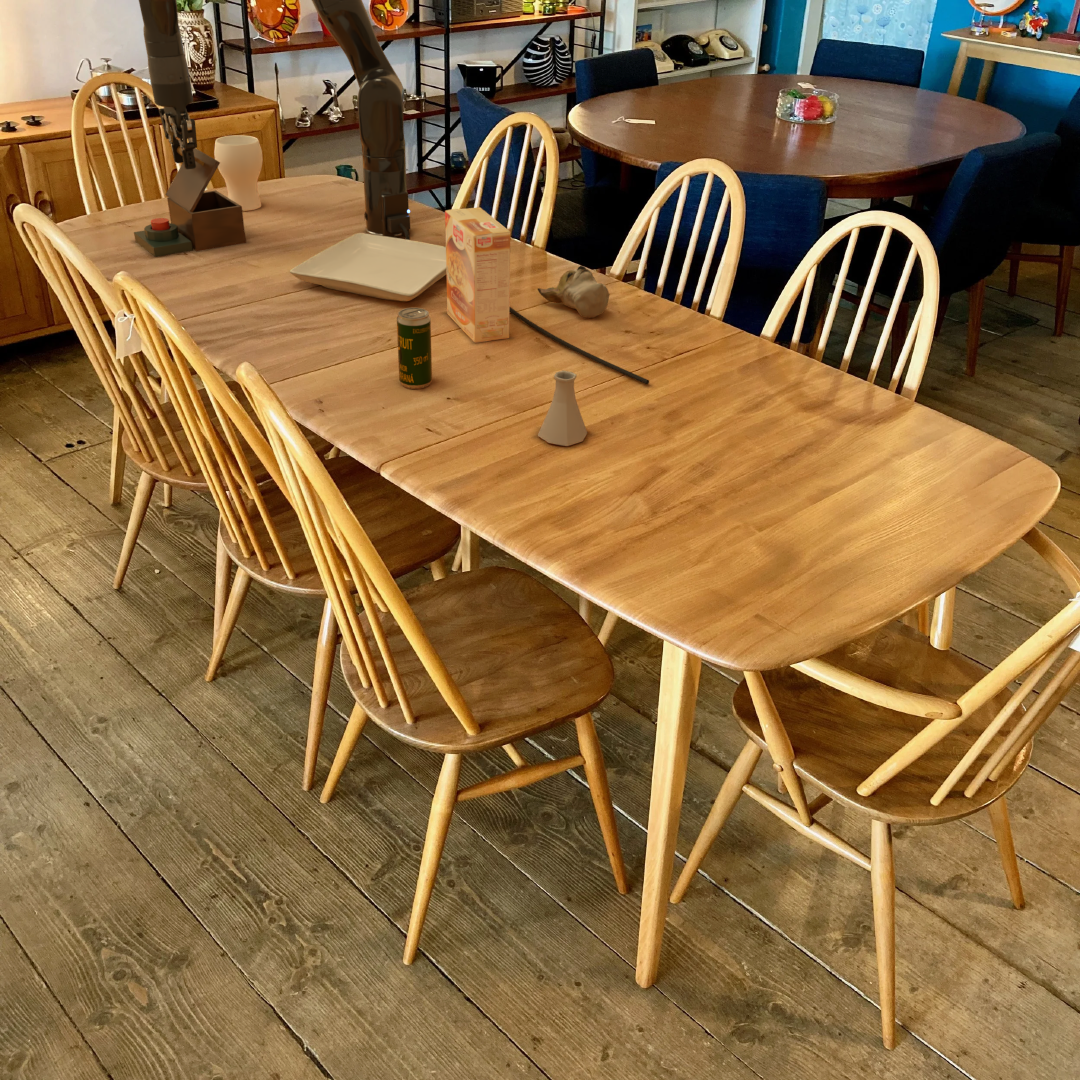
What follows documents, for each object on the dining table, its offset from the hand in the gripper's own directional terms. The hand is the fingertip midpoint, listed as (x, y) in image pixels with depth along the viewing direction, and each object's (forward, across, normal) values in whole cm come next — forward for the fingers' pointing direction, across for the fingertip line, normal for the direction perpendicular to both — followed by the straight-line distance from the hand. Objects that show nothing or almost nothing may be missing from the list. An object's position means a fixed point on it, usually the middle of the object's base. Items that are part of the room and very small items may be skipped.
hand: (185, 165), depth 229 cm
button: (+12, 0, +7) cm, 14 cm away
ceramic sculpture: (+18, -75, -46) cm, 89 cm away
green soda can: (+16, -87, -3) cm, 89 cm away
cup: (+17, +18, -18) cm, 31 cm away
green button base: (+16, 0, +8) cm, 17 cm away
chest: (+16, 0, -2) cm, 16 cm away
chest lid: (+3, 0, -1) cm, 3 cm away
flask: (+17, -115, -12) cm, 117 cm away
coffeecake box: (+17, -72, -25) cm, 78 cm away
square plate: (+17, -41, -22) cm, 50 cm away
